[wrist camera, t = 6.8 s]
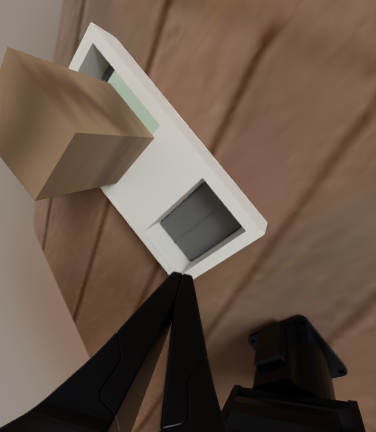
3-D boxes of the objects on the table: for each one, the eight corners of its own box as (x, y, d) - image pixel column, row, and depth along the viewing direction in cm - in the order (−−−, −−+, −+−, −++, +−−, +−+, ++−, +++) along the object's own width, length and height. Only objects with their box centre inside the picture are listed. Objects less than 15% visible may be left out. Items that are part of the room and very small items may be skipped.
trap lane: (267, 222, 20) (264, 234, 18) (190, 273, 25) (179, 288, 22) (115, 37, 21) (90, 21, 18) (69, 120, 26) (44, 117, 23)
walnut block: (154, 137, 19) (75, 132, 12) (116, 183, 22) (34, 200, 15) (110, 83, 19) (7, 46, 12) (78, 135, 22) (-20, 130, 15)
